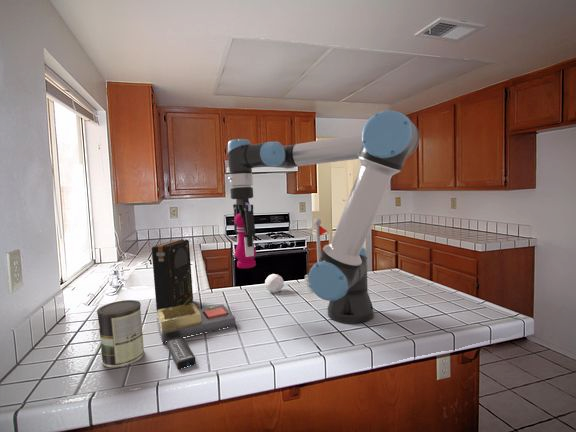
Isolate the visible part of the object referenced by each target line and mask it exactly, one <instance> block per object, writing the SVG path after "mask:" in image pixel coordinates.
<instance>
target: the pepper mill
mask: <svg viewBox="0 0 576 432" xmlns="http://www.w3.org/2000/svg"><path fill="white" fill-rule="evenodd" d="M235 224H236V225H237V226H238V227H237V232H238V234H237V235H239V240H238V244H236V247H235V251H234V257H235V258H236V259H237V262H236V267H237V268H239V269H250V268H251V269H252V268H254V267H256V266H257V263H256V260H255V258H256V256H257V250H256V246H255V245H254V244H253V246H254V256H249V257H246V255H245V240H244V237H243V236H244V235H245V231H244V225H243V218H242V217H240V213H239V214H237V215H236V217H235Z"/></svg>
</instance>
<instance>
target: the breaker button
mask: <svg viewBox="0 0 576 432" xmlns="http://www.w3.org/2000/svg"><path fill="white" fill-rule="evenodd" d="M204 314H205V317H206V318H207V319H211V318H215V317H220V316H224V315H227V312H226V311H225V310H224V309H223V308H222V307H221V308H216V309H211V310H206V311H204Z"/></svg>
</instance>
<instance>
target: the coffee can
mask: <svg viewBox="0 0 576 432" xmlns="http://www.w3.org/2000/svg"><path fill="white" fill-rule="evenodd" d="M141 305H142V304H141V302H140V301H139V300H135V299H129V300H127V299H126V300H125V299H124V300H120V301H119V300H118V301H115V302H111V303H107V304H104V305H103V306H100V307H99V308H98V309H97V310H96V314H97V319H98V320H97V322H98V330H99V341H100V348H101V349H100V351H101V360H102V361H101V363H102V365H103V366H104V367H106V368H121V367H126V366H129V365H131V364H134V363H136V362H138V361H139V360H141V359H142V358H143V357H144V355H145V349H144V345H145V344H144V335H143V334H144V333H143V324H142V310H141ZM125 365H126V366H125Z"/></svg>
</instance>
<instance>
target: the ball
mask: <svg viewBox="0 0 576 432" xmlns="http://www.w3.org/2000/svg"><path fill="white" fill-rule="evenodd" d="M284 282H285V281H284V279H283V277H282V276H281V275H279V274H275V273H272V274H269V275H268V276H267V277H266V279H265V280H264V286H265V289H266V291H268V292H270V293H273V294H275V293H276V294H277V293H279V292H281V290H282V289H283V288H284V286H285V285H284V284H285V283H284Z"/></svg>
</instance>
